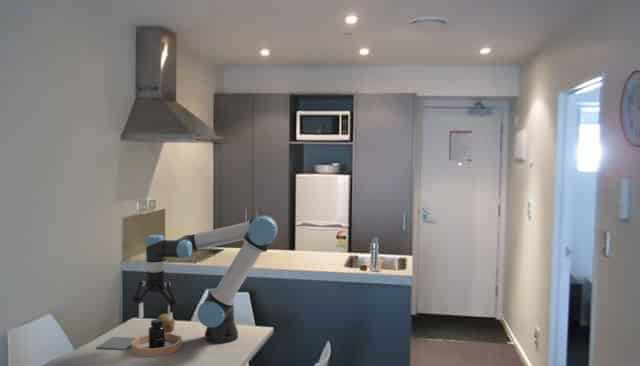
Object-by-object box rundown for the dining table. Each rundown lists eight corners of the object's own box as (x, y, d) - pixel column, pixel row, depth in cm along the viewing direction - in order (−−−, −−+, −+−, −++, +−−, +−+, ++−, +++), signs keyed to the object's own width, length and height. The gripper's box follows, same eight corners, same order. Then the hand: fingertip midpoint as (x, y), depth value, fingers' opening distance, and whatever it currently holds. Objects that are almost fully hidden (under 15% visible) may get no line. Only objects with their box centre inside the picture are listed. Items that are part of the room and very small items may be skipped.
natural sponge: (158, 331, 259) (158, 311, 259) (177, 331, 259) (177, 311, 259) (153, 338, 250) (152, 316, 250) (172, 337, 250) (171, 316, 250)
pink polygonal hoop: (189, 340, 246) (188, 334, 246) (169, 357, 225) (169, 350, 225) (146, 338, 249) (145, 332, 249) (122, 354, 229) (122, 347, 229)
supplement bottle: (160, 350, 233) (159, 323, 233) (145, 349, 235) (145, 322, 234) (167, 345, 240) (167, 318, 240) (153, 344, 242) (153, 318, 241)
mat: (141, 339, 248) (141, 338, 248) (125, 350, 234) (125, 348, 234) (113, 338, 250) (113, 336, 250) (96, 348, 237) (96, 347, 237)
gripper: (185, 269, 238) (185, 317, 239) (132, 267, 242) (133, 314, 243) (178, 273, 230) (178, 322, 231) (124, 271, 234) (124, 319, 235)
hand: (155, 318), depth 237 cm, fingers open, 13 cm apart
